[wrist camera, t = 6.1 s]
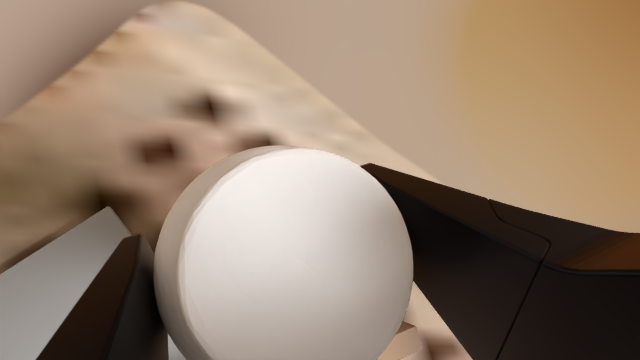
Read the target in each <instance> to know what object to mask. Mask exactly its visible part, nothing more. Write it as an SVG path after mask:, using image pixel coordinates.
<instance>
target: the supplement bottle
mask: <svg viewBox="0 0 640 360" xmlns="http://www.w3.org/2000/svg"><path fill="white" fill-rule="evenodd" d="M153 280H154V291H155V297H156V302H157V306H158V310H159V314H160V316H161V319H162V321H163V324H164V326H165V328H166V330H167V332H168V334H169V336H170V337H171V339H172V341H173V343H174V344H175V345H176V347H177V348H178V350H179V351H180V352H181V353H182V355H183V356H184V357H185V358H186V359H187V360H377V358H378V357H379V356H380V355H381V354H382V353H383V352H384V350H385V349H386V348H387V347H388V345H389V344H390V342H391V341H392V340H393V338H394V336H395V335H396V333H397V331H398V329H399V327H400V325H401V324H402V321H403V319H404V316H405V313H406V311H407V307H408V304H409V301H410V295H411V290H412V283H413V254H412V247H411V242H410V238H409V235H408V231H407V228H406V225H405V222H404V220H403V217H402V215H401V213H400V211H399V209H398V207H397V205H396V204H395V202H394V201H393V199H392V198H391V196H390V195H389V194H388V192H387V191H386V189H385V188H384V187H383V186H382V185H381V184H380V183H379V182H378V181H377V180H376V179H375V178H374V177H373V176H372V175H370V174H369V173H368V172H367V171H365V170H364V169H363V168H361V167H360V166H359V165H357V164H355V163H353V162H351V161H350V160H348V159H346V158H344V157H341V156H339V155H336V154H333V153H330V152H326V151H322V150H319V149H311V148H300V147H294V146H265V147H258V148H253V149H248V150H245V151H242V152H239V153H236V154H234V155H231V156H229V157H227V158H225V159H223V160H221V161H219V162H217V163H215V164H214V165H212V166H211V167H209V168H208V169H207V170H205V171H204V172H203V173H201V174H200V175H199V176H198V177H197V178H196V179H194V180H193V181H192V182H191V183H190V184H189V185H188V187H187V188H186V189H185V190H184V191H183V192H182V194H181V195H180V196H179V197H178V199H177V200H176V202H175V203H174V205H173V206H172V208H171V210H170V212H169V213H168V215H167V217H166V219H165V222H164V224H163V227H162V229H161V232H160V235H159V239H158V242H157V245H156V250H155V257H154V274H153Z"/></svg>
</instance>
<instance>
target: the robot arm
mask: <svg viewBox="0 0 640 360" xmlns="http://www.w3.org/2000/svg"><path fill="white" fill-rule="evenodd" d="M360 167H361V168H363V169H364V170H365V171H367V172H368V173H369V174H370V175H372V176H373V177H374V178H375V179H376V180H377V181H378V182H379V183H380V184H381V185H382V186H383V187H384V188H385V189H386V191H387V192H388V194H389V195H390V196H391V198H392V199H393V201H394V202H395V204H396V205H397V207H398V209H399V211H400V213H401V215H402V217H403V220H404V222H405V225H406V228H407V231H408V235H409V238H410V242H411V247H412V254H413V281H414V282H415V283H416V285H417V286H418V287H419V289H420V290H421V291H422V293H423V294H424V295H425V297H426V298H427V299H428V301H429V302H430V303H431V305H432V306H433V307H434V309H435V310H436V311H437V313H438V314H439V315H440V317H441V318H442V319H443V321H444V322H445V323H446V325H447V326H448V327H449V329H450V330H451V331H452V333H453V334H454V335H455V337H456V338H457V339H458V341H459V342H460V343H461V345H462V346H463V347H464V349H465V350H466V351H467V353H468V354H469V355H470V357H471V358H472V359H473V360H640V233H627V232H619V231H613V230H608V229H604V228H600V227H596V226H591V225H587V224H583V223H578V222H574V221H570V220H566V219H562V218H558V217H554V216H549V215H546V214H542V213H538V212H533V211H529V210H525V209H522V208H519V207H515V206H512V205H508V204H504V203H501V202H498V201H494V200H491V199H489V200H488V199H487V198H485V197H481V196H478V195H475V194H471V193H468V192H465V191H461V190H458V189H455V188H452V187H448V186H445V185H442V184H438V183H435V182H432V181H428V180H425V179H422V178H418V177H415V176H412V175H408V174H405V173H402V172H399V171H395V170H392V169H389V168H385V167H382V166H379V165H375V164H372V163H368V164H364V165H361V166H360ZM154 257H155V255H154V253H153V251H152V249H151V247H150V245H149V243H148V241H147V239H146V237H145V236H144V234H142V233H138V234H134V235H131V236H128V237H125V238H123V239H122V240H121V242H120V243H119V244H118V246H117V247H116V248H115V250H114V251H113V253H112V254H111V255H110V257H109V258H108V260H107V261H106V262H105V264H104V265H103V267H102V268H101V269H100V271H99V272H98V273H97V275H96V276H95V278H94V279H93V280H92V282H91V283H90V285H89V286H88V287H87V289H86V290H85V292H84V293H83V294H82V296H81V297H80V299H79V300H78V301H77V303H76V304H75V305H74V307H73V308H72V310H71V311H70V312H69V314H68V315H67V317H66V318H65V319H64V321H63V322H62V324H61V325H60V326H59V328H58V329H57V330H56V332H55V333H54V335H53V336H52V337H51V339H50V340H49V342H48V343H47V344H46V346H45V347H44V349H43V350H42V351H41V353H40V354H39V356H38V357H37V358H36V360H169V353H168V332H167V330H166V328H165V326H164V324H163V321H162V319H161V316H160V314H159V310H158V306H157V302H156V297H155V291H154V280H153V274H154Z"/></svg>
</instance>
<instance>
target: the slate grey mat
mask: <svg viewBox="0 0 640 360" xmlns="http://www.w3.org/2000/svg"><path fill="white" fill-rule="evenodd" d="M131 235H132V234H131V233H130V232H129V230H128V229H127V228H126V226H125V225H124V224H123V222H122V221H121V220H120V218H119V217H118V216H117V215H116V213H115V212H114V211H113V209H112V208H111V207H108V206H107V207H106V208H104V209H102V210H101V211H99V212H98V213H96V214H95V215H93V216H91V217H90V218H88V219H87V220H85V221H83V222H82V223H80V224H79V225H77V226H76V227H74V228H72V229H71V230H69V231H68V232H66V233H65V234H63V235H61V236H60V237H58V238H57V239H55V240H54V241H52V242H50V243H49V244H47V245H46V246H44V247H42V248H41V249H39V250H38V251H36V252H35V253H33V254H31V255H30V256H28V257H27V258H25V259H24V260H22V261H20V262H19V263H17V264H16V265H14V266H13V267H11V268H9V269H8V270H6V271H5V272H3V273H1V274H0V360H36V358H37V357H38V356H39V354H40V353H41V351H42V350H43V349H44V347H45V346H46V344H47V343H48V342H49V340H50V339H51V337H52V336H53V335H54V333H55V332H56V330H57V329H58V328H59V326H60V325H61V324H62V322H63V321H64V319H65V318H66V317H67V315H68V314H69V312H70V311H71V310H72V308H73V307H74V305H75V304H76V303H77V301H78V300H79V299H80V297H81V296H82V294H83V293H84V292H85V290H86V289H87V287H88V286H89V285H90V283H91V282H92V280H93V279H94V278H95V276H96V275H97V273H98V272H99V271H100V269H101V268H102V267H103V265H104V264H105V262H106V261H107V260H108V258H109V257H110V255H111V254H112V253H113V251H114V250H115V248H116V247H117V246H118V244H119V243H120V242H121V240H122V239H123V238H125V237H128V236H131ZM168 353H169V360H187V359H186V358H185V357H184V356H183V355H182V353H181V352H180V351H179V350H178V348H177V347H176V345H175V344H174V343H173V341H172V339H171V337H170V336H169V334H168Z"/></svg>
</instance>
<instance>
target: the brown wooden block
mask: <svg viewBox="0 0 640 360" xmlns="http://www.w3.org/2000/svg"><path fill="white" fill-rule="evenodd" d="M422 349H423V347H422V344H421V341H420V338H419V335H418V332H417V328H416V326H414V325H411V324H409V323H406V322H404V321H402V324H401V325H400V327H399V329H398V331H397V333H396V335H395V336H394V338H393V340H392V341H391V342H390V344H389V345H388V347H387V348H386V349H385V350H384V352H383V353H382V354H381V355H380V356H379V357H378V358H377V360H400V359H402V358H404V357H406V356H409V355H411V354H413V353H415V352H417V351H420V350H422Z"/></svg>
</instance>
